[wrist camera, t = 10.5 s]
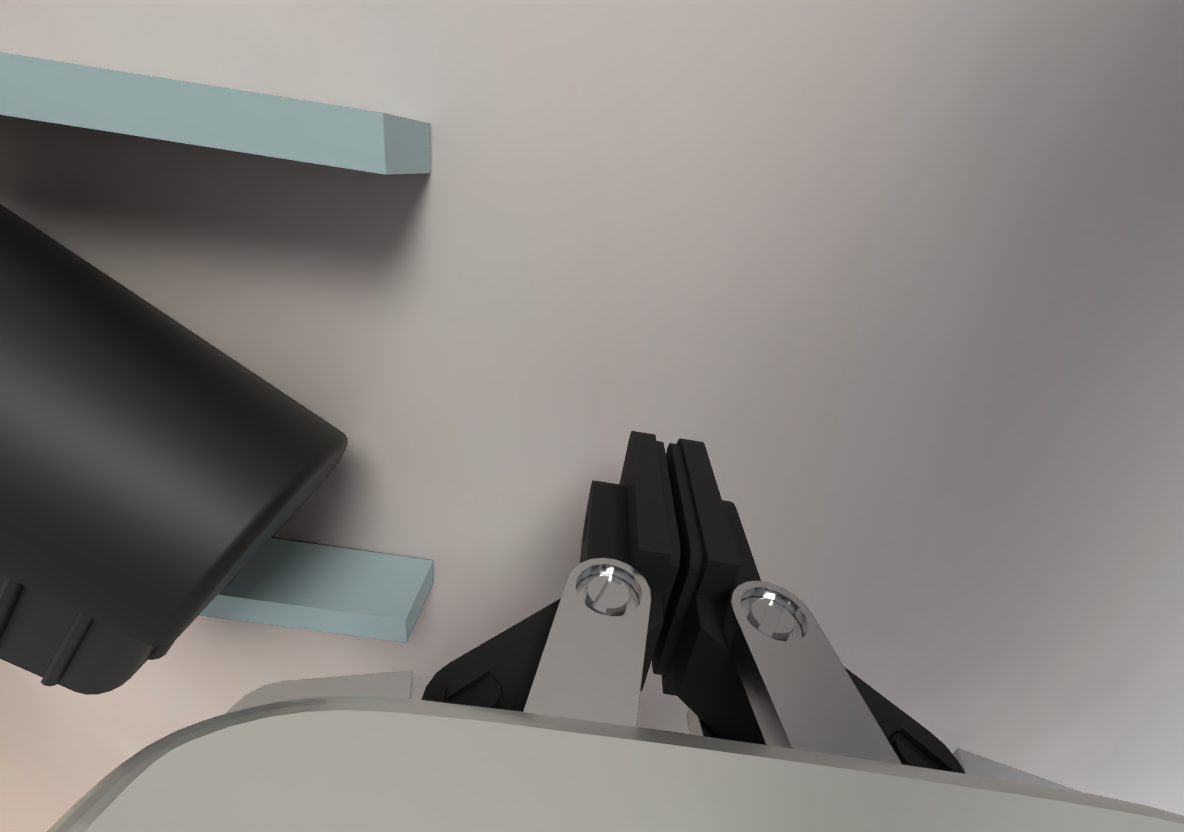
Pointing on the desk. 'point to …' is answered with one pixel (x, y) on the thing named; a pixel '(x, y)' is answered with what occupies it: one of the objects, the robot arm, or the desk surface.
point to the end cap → (126, 468)
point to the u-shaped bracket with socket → (282, 130)
